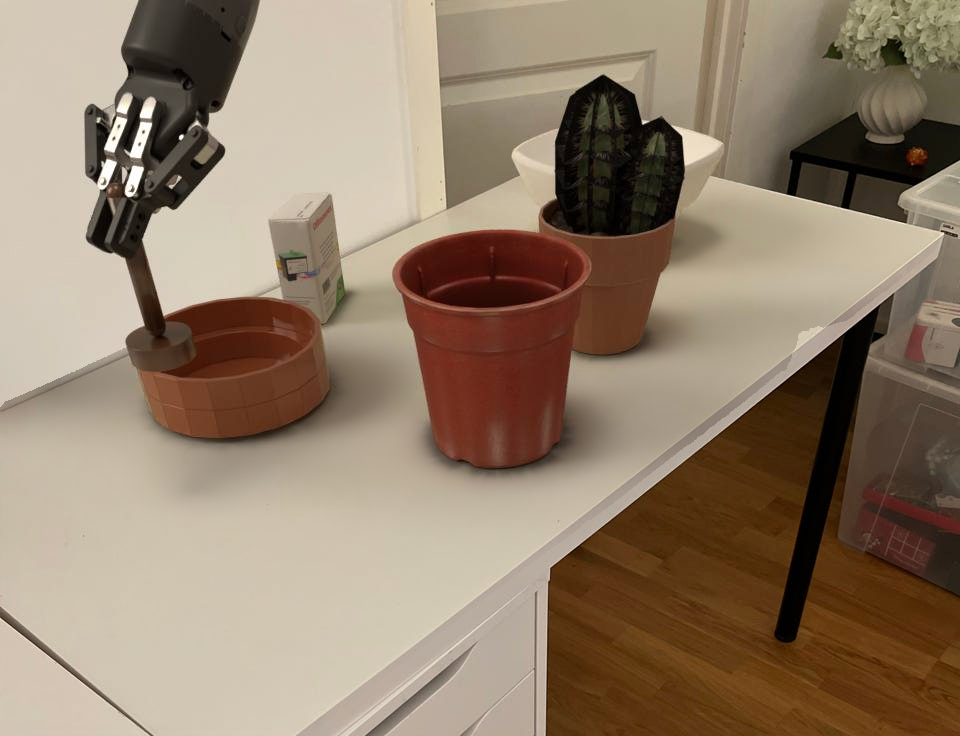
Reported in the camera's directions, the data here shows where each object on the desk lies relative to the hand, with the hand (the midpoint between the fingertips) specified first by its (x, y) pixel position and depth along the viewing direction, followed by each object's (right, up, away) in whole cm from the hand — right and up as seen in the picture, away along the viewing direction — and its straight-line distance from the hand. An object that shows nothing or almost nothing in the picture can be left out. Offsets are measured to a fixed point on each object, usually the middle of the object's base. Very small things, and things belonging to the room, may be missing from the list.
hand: (108, 250), depth 71 cm
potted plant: (+40, +4, +34) cm, 53 cm away
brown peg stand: (+2, -6, +8) cm, 10 cm away
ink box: (+8, +10, +43) cm, 45 cm away
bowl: (+44, +22, +53) cm, 73 cm away
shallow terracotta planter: (+3, -4, +28) cm, 28 cm away
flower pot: (+29, -9, +20) cm, 37 cm away
